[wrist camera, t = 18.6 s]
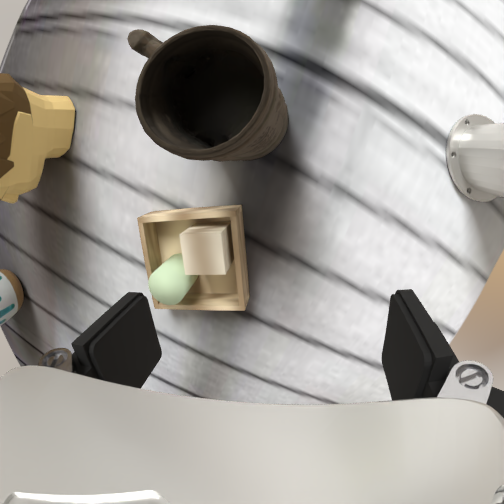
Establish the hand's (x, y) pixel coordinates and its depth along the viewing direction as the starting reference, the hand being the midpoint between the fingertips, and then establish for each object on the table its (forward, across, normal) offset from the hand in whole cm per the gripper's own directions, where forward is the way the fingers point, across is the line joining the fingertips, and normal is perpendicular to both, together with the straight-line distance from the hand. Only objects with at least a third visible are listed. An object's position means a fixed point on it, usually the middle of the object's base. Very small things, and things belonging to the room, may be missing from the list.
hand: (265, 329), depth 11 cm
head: (+28, +38, -15) cm, 49 cm away
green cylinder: (+28, +16, +8) cm, 33 cm away
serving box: (+28, +13, +6) cm, 32 cm away
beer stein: (+29, +7, -12) cm, 32 cm away
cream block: (+28, +10, +4) cm, 30 cm away
